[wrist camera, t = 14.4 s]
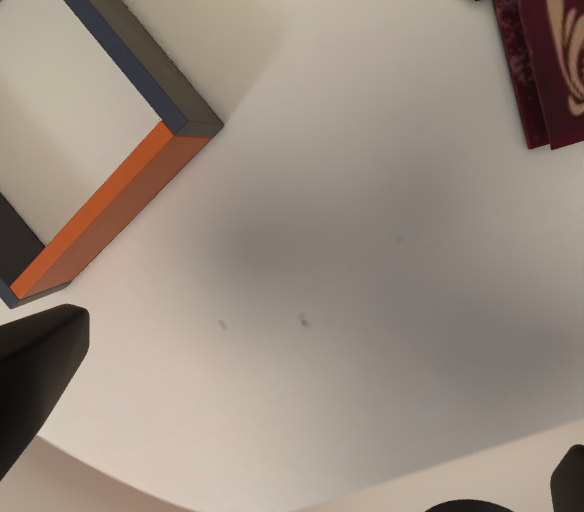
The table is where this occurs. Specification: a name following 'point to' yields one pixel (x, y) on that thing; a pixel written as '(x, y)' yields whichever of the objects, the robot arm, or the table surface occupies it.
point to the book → (546, 67)
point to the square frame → (128, 176)
